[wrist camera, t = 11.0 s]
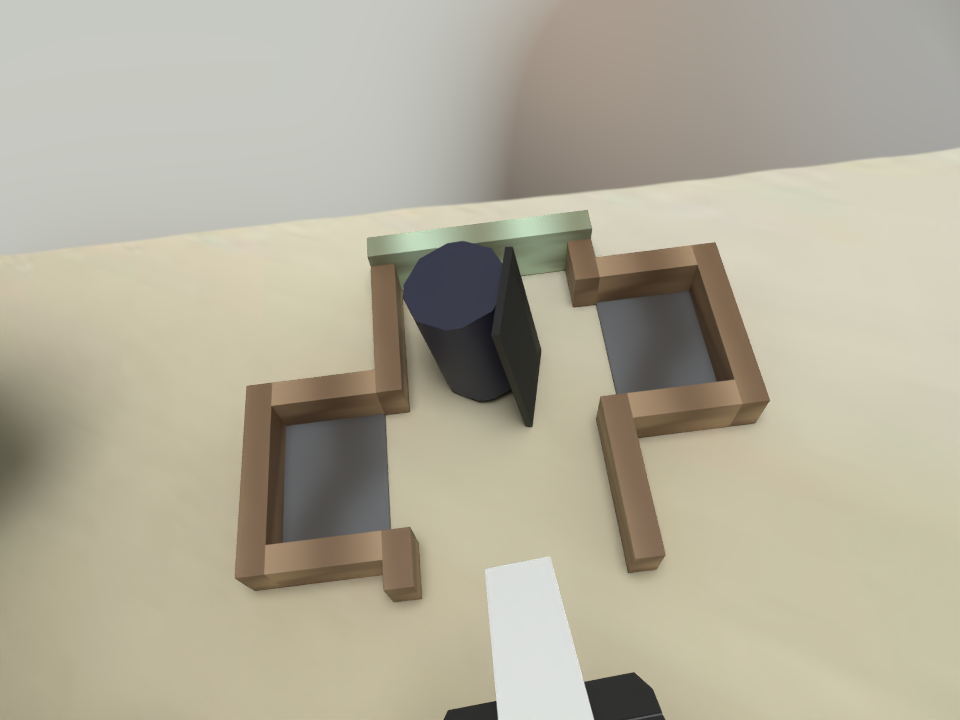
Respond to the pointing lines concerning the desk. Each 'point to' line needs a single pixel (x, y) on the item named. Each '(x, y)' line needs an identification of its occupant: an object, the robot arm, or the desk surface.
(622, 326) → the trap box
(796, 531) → the desk surface
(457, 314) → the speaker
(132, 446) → the desk surface
